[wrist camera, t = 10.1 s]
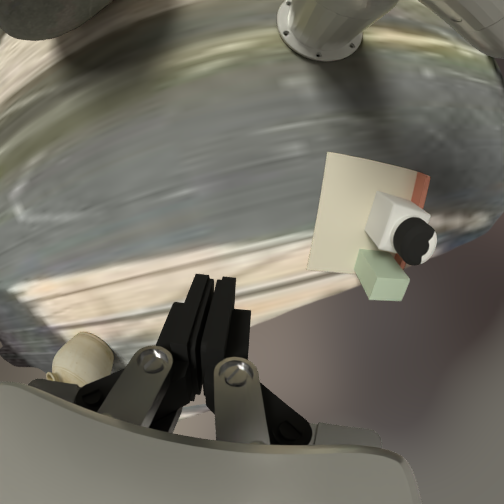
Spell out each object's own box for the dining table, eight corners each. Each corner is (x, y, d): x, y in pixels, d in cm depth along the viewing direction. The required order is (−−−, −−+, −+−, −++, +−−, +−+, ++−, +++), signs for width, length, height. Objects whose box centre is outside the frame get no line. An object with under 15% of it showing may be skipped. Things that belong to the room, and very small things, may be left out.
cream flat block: (327, 151, 37) (332, 154, 35) (422, 173, 37) (431, 177, 35) (306, 269, 47) (308, 278, 44) (392, 276, 47) (398, 285, 44)
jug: (63, 322, 57) (17, 391, 35) (108, 331, 57) (65, 414, 35) (83, 360, 65) (49, 425, 42) (126, 371, 64) (96, 445, 42)
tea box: (359, 248, 44) (377, 277, 36) (389, 252, 44) (411, 279, 36) (353, 268, 46) (369, 299, 38) (383, 271, 46) (402, 300, 38)
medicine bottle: (363, 230, 42) (390, 267, 32) (376, 189, 39) (410, 216, 29) (397, 238, 43) (429, 274, 32) (411, 200, 39) (449, 228, 29)
